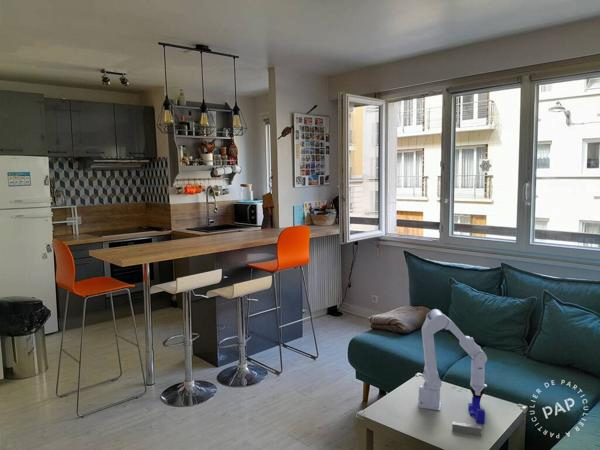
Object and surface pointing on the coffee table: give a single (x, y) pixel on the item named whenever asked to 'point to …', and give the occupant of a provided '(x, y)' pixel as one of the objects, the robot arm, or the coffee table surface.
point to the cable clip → (476, 410)
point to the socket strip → (466, 428)
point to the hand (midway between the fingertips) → (476, 403)
